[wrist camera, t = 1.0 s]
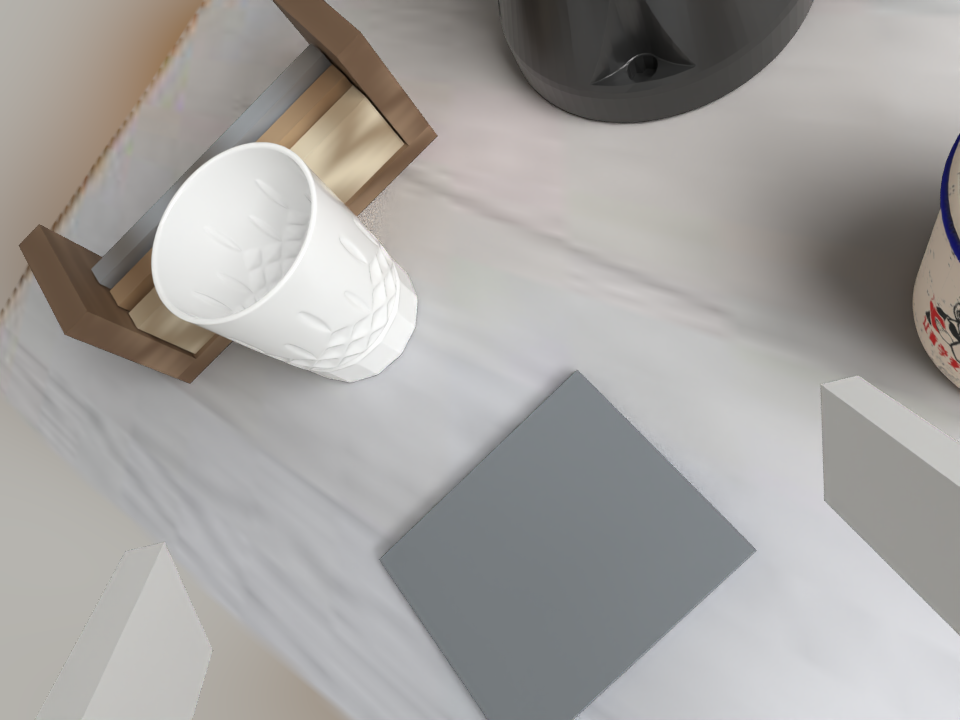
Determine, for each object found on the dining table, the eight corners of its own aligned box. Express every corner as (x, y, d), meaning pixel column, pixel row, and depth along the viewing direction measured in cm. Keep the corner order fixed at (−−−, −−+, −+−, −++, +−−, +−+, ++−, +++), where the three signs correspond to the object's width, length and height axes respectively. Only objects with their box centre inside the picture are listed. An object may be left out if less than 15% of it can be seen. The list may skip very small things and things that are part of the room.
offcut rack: (369, 73, 43) (285, -32, 36) (437, 135, 40) (360, 32, 33) (141, 304, 44) (18, 245, 37) (189, 383, 41) (64, 334, 34)
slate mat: (580, 373, 33) (577, 369, 32) (756, 550, 28) (756, 549, 27) (385, 560, 33) (379, 559, 33) (524, 763, 29) (519, 766, 28)
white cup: (279, 296, 41) (136, 207, 32) (401, 222, 39) (286, 106, 30) (317, 422, 37) (168, 360, 28) (452, 346, 36) (339, 256, 27)
